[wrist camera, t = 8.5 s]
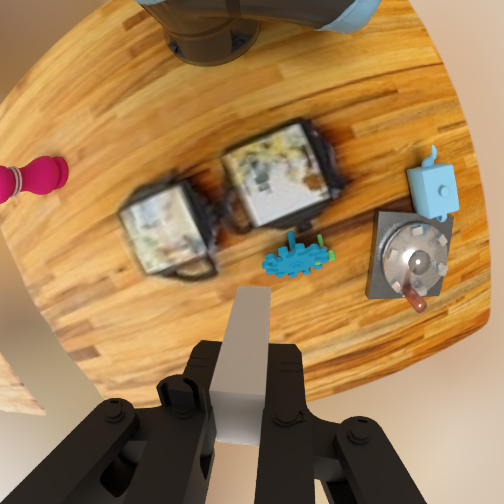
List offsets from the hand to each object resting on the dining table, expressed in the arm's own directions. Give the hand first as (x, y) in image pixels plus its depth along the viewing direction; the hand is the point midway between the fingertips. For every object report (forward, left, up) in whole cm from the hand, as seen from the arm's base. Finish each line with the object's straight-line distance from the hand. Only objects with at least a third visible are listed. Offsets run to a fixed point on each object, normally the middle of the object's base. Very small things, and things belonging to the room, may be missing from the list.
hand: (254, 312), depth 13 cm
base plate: (+8, +25, -32) cm, 41 cm away
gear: (+8, +5, -32) cm, 34 cm away
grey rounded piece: (+8, +25, -30) cm, 39 cm away
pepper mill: (-8, -40, -32) cm, 52 cm away
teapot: (-5, +26, -32) cm, 41 cm away
